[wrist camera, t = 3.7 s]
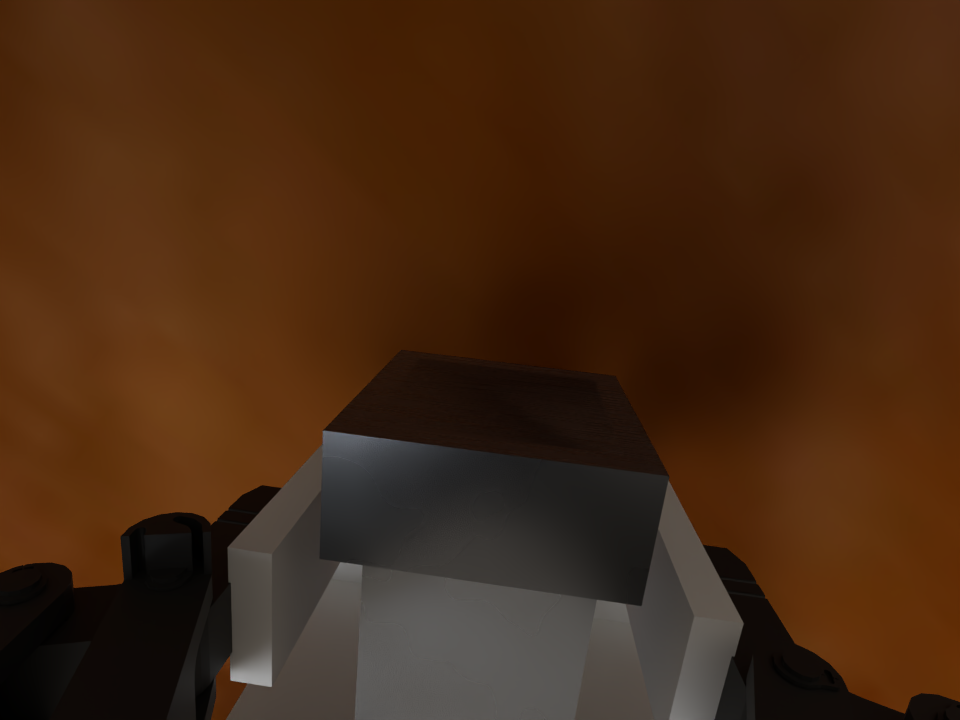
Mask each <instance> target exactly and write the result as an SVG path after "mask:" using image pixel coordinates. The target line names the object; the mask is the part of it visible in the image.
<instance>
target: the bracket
mask: <svg viewBox="0 0 960 720" xmlns="http://www.w3.org/2000/svg"><path fill="white" fill-rule="evenodd" d="M362 566H363V565H357V564H350V563H343V562H340V564H339V566H338V568H337V569H336V571H335V573H334V575H333V577H332V579H331V580H330V582H329V584H328V586H327V588H326V589H325V591H324V593H323V595H322V597H321V599H320V600H319V602H318V604H317V606H316V608H315V609H314V611H313V613H312V615H311V617H310V619H309V620H308V622H307V624H306V626H305V628H304V630H303V631H302V633H301V635H300V637H299V639H298V640H297V642H296V644H295V646H294V648H293V650H292V651H291V653H290V655H289V657H288V659H287V660H286V662H285V664H284V666H283V668H282V670H281V671H280V673H279V675H278V677H277V679H276V680H275V682H274V684H273V686H272V687H268V686H262V685H256V684H250V683H248V684H247V686H246V687H245V689H244V691H243V692H242V694H241V696H240V697H239V699H238V701H237V702H236V704H235V706H234V707H233V709H232V711H231V712H230V714H229V716H228V717H227V719H226V720H355V701H356V682H357V663H358V643H359V624H360V605H361V586H362ZM574 720H654V718H653V714H652V710H651V706H650V702H649V698H648V693H647V689H646V685H645V681H644V677H643V673H642V669H641V665H640V661H639V657H638V653H637V649H636V645H635V641H634V637H633V633H632V629H631V625H630V621H629V616H628V612H627V608H626V604H622V603H616V602H609V601H602V600H597V602H596V607H595V612H594V618H593V623H592V628H591V634H590V639H589V644H588V650H587V655H586V661H585V666H584V671H583V677H582V682H581V687H580V693H579V698H578V703H577V709H576V714H575V719H574Z"/></svg>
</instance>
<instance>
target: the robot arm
mask: <svg viewBox="0 0 960 720" xmlns="http://www.w3.org/2000/svg"><path fill="white" fill-rule="evenodd" d="M322 448H323V444H322V445H321V446H320V447H319V448H318V449H317V450H316V452H315V453H314V454H313V455H312V456H311V457H310V458H309V459H308V460H307V461H306V462H305V464H304V465H303V466H302V467H301V468H300V469H299V470H298V471H297V472H296V473H295V474H294V476H293V477H292V478H291V479H290V480H289V481H288V482H287V483H286V484H285V485H284V486H283V488H277V487H270V486H263V485H262V486H260V487H258V488H256V489H254V490H252V491H250V492H248V493H246V494H244V495H242V496H241V497H240V498H239V499H238V500H237V501H236V502H234V503H233V504H232V505H231V506H230V507H229V510H228V511H225V512H224V513H223V514H222V515H221V516H220V517H219V518H218V520H217V522H216V521H215V522H214V523H213V524H212V525H211V526H210V522H209V521H207V520H206V519H205V518H204V517H202V516H199V515H196V514H193V513H180V512H176V513H168V514H161V515H157V516H154V517H151V518H148V519H145V520H142V521H140V522H139V523H137V524H135V525H133V526H131V527H129V528H128V529H127V531H126V532H125V533H124V534H123V535H122V536H121V548H122V560H123V572H124V582H123V583H122V584H117V585H108V586H95V587H82V588H73V579H72V572H71V571H70V570H69V569H68V568H67V567H66V566H64V565H59V564H55V563H33V564H27V565H24V566H23V565H22V566H18V567H14V568H12V569H9V570H7V571H4V572H2V573H0V720H211V716H212V712H213V708H214V703H215V699H216V678H215V676H216V675H217V673H218V672H219V670H220V669H221V667H222V666H223V665H224V663H225V662H226V660H227V659H228V657H229V656H230V672H231V681H237V682H243V683H250V684H256V685H262V686H268V687H272V686H273V684H274V682H275V680H276V679H277V677H278V675H279V673H280V671H281V670H282V668H283V666H284V664H285V662H286V660H287V659H288V657H289V655H290V653H291V651H292V650H293V648H294V646H295V644H296V642H297V640H298V639H299V637H300V635H301V633H302V631H303V630H304V628H305V626H306V624H307V622H308V620H309V619H310V617H311V615H312V613H313V611H314V609H315V608H316V606H317V604H318V602H319V600H320V599H321V597H322V595H323V593H324V591H325V589H326V588H327V586H328V584H329V582H330V580H331V579H332V577H333V575H334V573H335V571H336V569H337V568H338V566H339V564H340V562H336V561H329V560H323V559H319V557H320V521H321V485H322ZM626 608H627V612H628V616H629V621H630V625H631V629H632V633H633V637H634V641H635V645H636V649H637V653H638V657H639V661H640V665H641V669H642V673H643V677H644V681H645V685H646V689H647V693H648V698H649V702H650V706H651V710H652V714H653V718H654V720H960V702H958V701H955V700H952V699H949V698H946V697H943V696H940V695H935V694H923V693H921V694H919V695H916V696H914V697H912V698H911V700H910V702H909V705H908V708H907V710H906V713H905V714H904V713H901V712H898V711H896V710H893V709H890V708H888V707H885V706H882V705H880V704H877V703H874V702H872V701H869V700H866V699H864V698H861V697H859V696H857V695H854V694H852V693H850V692H848V689H847V687H846V685H845V683H844V681H843V679H842V677H841V676H840V675H839V674H838V673H837V671H836V670H835V669H834V668H833V667H832V666H831V665H830V664H829V663H828V662H826V661H825V660H823V659H822V658H820V657H819V656H818V655H816V654H815V653H813V652H811V651H809V650H807V649H805V648H803V647H801V646H799V645H796V644H795V643H794V641H793V640H792V638H791V637H790V635H789V633H788V632H787V630H786V629H785V627H784V625H783V624H782V622H781V620H780V619H779V617H778V616H777V614H776V612H775V611H774V609H773V608H772V606H771V604H770V603H769V601H768V600H767V599H765V595H764V593H763V592H762V590H761V588H760V587H759V585H757V584H756V580H755V579H754V577H753V575H752V574H751V572H750V571H749V569H748V567H747V566H746V564H745V563H743V562H742V561H741V560H740V559H739V558H738V557H736V556H735V555H734V554H733V553H732V552H731V551H729V550H728V549H727V548H720V547H713V546H706V545H702V543H701V541H700V539H699V537H698V536H697V534H696V532H695V530H694V528H693V526H692V524H691V522H690V520H689V518H688V517H687V515H686V513H685V511H684V509H683V507H682V505H681V503H680V501H679V499H678V498H677V496H676V494H675V492H674V490H673V488H672V486H671V484H670V482H669V480H668V485H667V490H666V494H665V499H664V504H663V508H662V513H661V518H660V522H659V527H658V532H657V536H656V541H655V546H654V551H653V555H652V560H651V565H650V569H649V574H648V579H647V583H646V588H645V593H644V597H643V602H642V606H636V605H629V604H626Z"/></svg>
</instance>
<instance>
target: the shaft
mask: <svg viewBox="0 0 960 720" xmlns="http://www.w3.org/2000/svg"><path fill="white" fill-rule="evenodd" d="M668 480H669V475H668V473H667V471H666V469H665V467H664V465H663V464H662V462H661V460H660V458H659V456H658V454H657V452H656V451H655V449H654V447H653V445H652V443H651V441H650V439H649V438H648V436H647V434H646V432H645V430H644V428H643V426H642V425H641V423H640V421H639V419H638V417H637V415H636V413H635V412H634V410H633V408H632V406H631V404H630V402H629V400H628V399H627V397H626V395H625V393H624V391H623V389H622V387H621V386H620V384H619V382H618V380H617V378H616V376H611V375H603V374H595V373H587V372H578V371H570V370H562V369H554V368H546V367H537V366H529V365H521V364H513V363H505V362H497V361H488V360H480V359H472V358H464V357H456V356H447V355H439V354H431V353H423V352H415V351H406V350H401V351H400V352H399V353H398V354H397V355H396V356H395V357H394V358H393V359H392V360H391V361H390V362H389V363H388V364H387V365H386V366H385V367H384V368H383V369H382V370H381V371H380V372H379V373H378V374H377V375H376V376H375V377H374V378H373V380H372V381H371V382H370V383H369V384H368V385H367V386H366V387H365V388H364V389H363V390H362V391H361V392H360V393H359V394H358V395H357V396H356V397H355V398H354V399H353V400H352V401H351V402H350V403H349V404H348V405H347V406H346V407H345V408H344V409H343V410H342V411H341V412H340V413H339V415H338V416H337V417H336V418H335V419H334V420H333V421H332V422H331V423H330V424H329V425H328V426H327V427H326V428H325V429H324V430H323V448H322V485H321V521H320V557H319V559H323V560H329V561H336V562H343V563H350V564H357V565H363V566H362V586H361V605H360V624H359V643H358V663H357V682H356V701H355V720H574V719H575V714H576V709H577V703H578V698H579V693H580V687H581V682H582V677H583V671H584V666H585V661H586V655H587V650H588V644H589V639H590V634H591V628H592V623H593V618H594V612H595V607H596V602H597V600H602V601H609V602H616V603H622V604H629V605H636V606H642V602H643V597H644V593H645V588H646V583H647V579H648V574H649V569H650V565H651V560H652V555H653V551H654V546H655V541H656V536H657V532H658V527H659V522H660V518H661V513H662V508H663V504H664V499H665V494H666V490H667V485H668Z"/></svg>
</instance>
